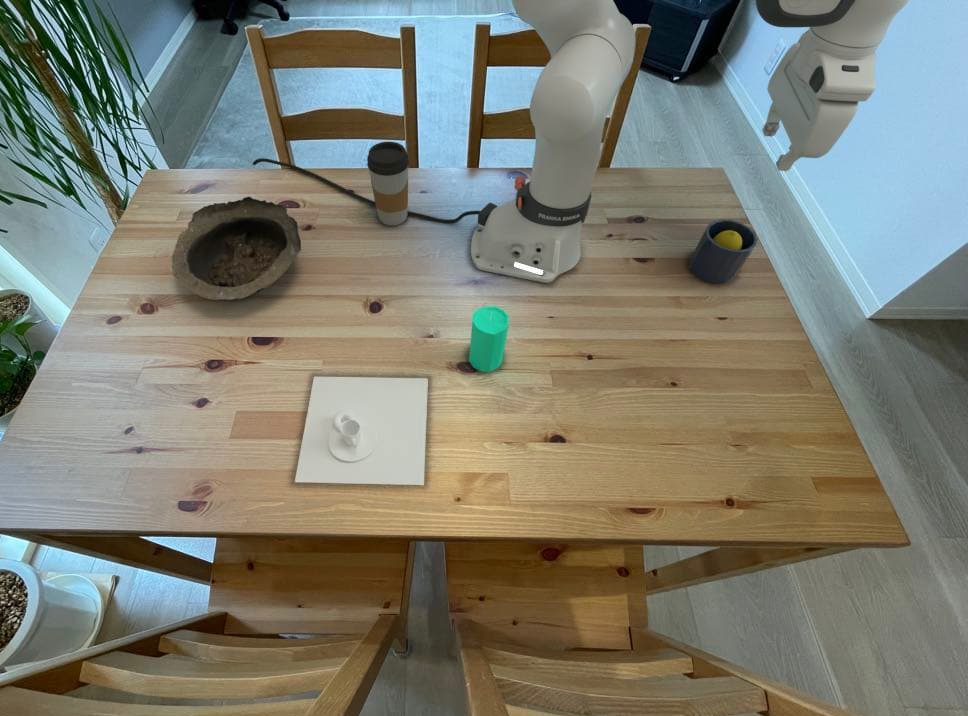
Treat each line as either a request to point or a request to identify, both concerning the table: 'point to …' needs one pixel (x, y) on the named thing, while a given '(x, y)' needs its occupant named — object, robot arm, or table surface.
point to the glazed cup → (721, 253)
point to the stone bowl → (235, 248)
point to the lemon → (729, 240)
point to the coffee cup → (389, 181)
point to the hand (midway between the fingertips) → (774, 150)
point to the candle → (488, 338)
